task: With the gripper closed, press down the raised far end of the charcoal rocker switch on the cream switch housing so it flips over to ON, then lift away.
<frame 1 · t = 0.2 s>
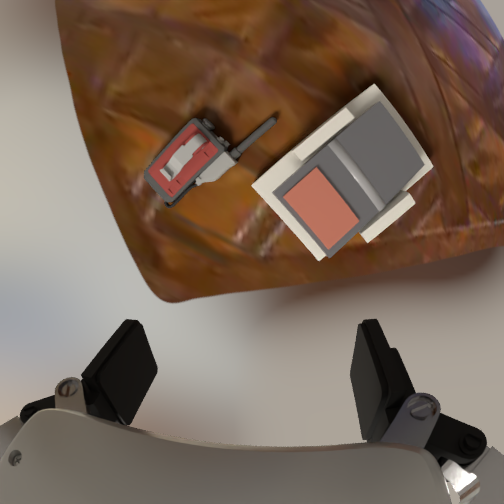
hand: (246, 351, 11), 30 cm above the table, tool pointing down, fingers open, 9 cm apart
walkie-talkie: (207, 149, 37), on the table
rocker: (356, 175, 30), point 6 cm above the table, hinge at -12.0°
switch housing: (345, 170, 36), on the table
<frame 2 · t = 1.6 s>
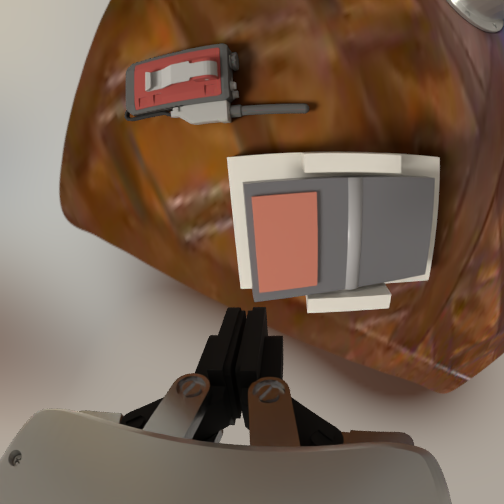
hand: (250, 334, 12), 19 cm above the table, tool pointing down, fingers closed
walkie-talkie: (211, 87, 26), on the table
rocker: (351, 233, 23), point 6 cm above the table, hinge at -12.0°
switch housing: (339, 216, 29), on the table
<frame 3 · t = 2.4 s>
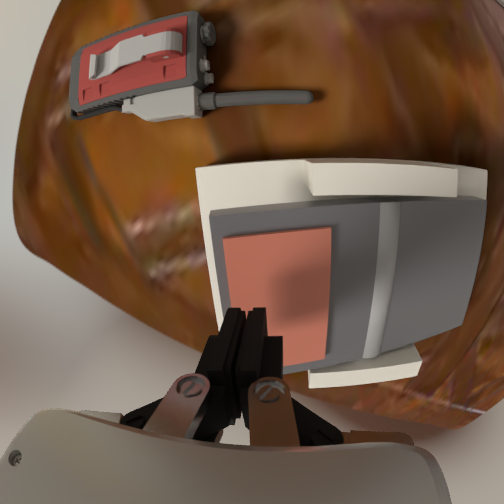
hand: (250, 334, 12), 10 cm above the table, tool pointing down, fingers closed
walkie-talkie: (179, 71, 18), on the table
rocker: (377, 284, 15), point 6 cm above the table, hinge at -12.0°
switch housing: (355, 248, 21), on the table
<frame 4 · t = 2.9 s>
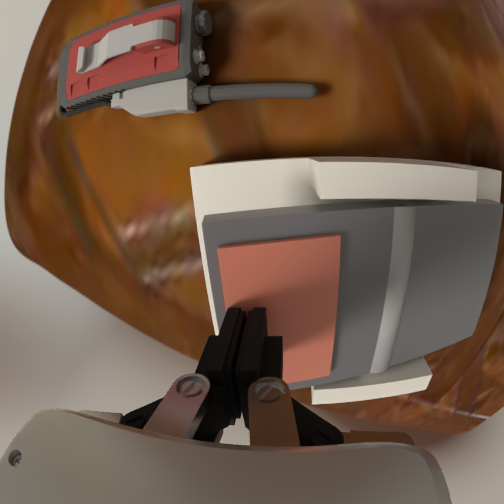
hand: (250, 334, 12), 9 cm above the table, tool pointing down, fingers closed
walkie-talkie: (172, 63, 16), on the table
rocker: (388, 295, 14), point 6 cm above the table, hinge at -11.6°, touching gripper
switch housing: (362, 254, 19), on the table
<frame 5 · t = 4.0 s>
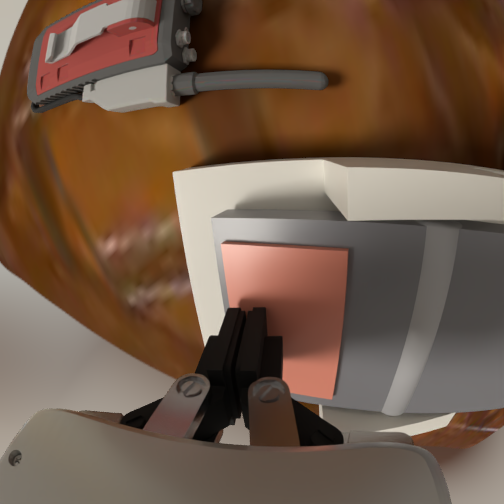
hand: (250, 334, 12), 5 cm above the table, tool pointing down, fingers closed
walkie-talkie: (155, 48, 13), on the table
rocker: (417, 333, 10), point 6 cm above the table, hinge at 16.0°, touching gripper
switch housing: (382, 274, 16), on the table
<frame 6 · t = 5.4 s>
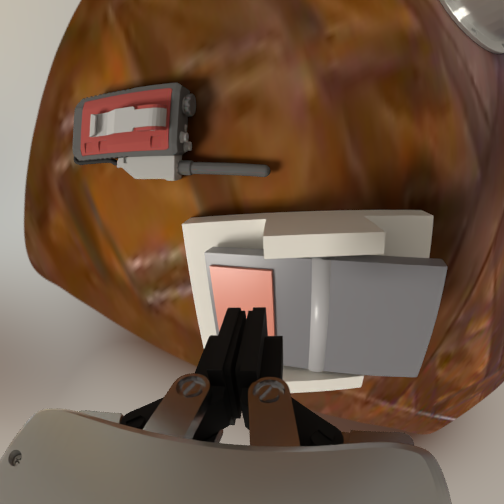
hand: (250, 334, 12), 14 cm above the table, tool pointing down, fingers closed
walkie-talkie: (164, 132, 23), on the table
rocker: (320, 317, 20), point 6 cm above the table, hinge at 16.1°
switch housing: (312, 283, 26), on the table
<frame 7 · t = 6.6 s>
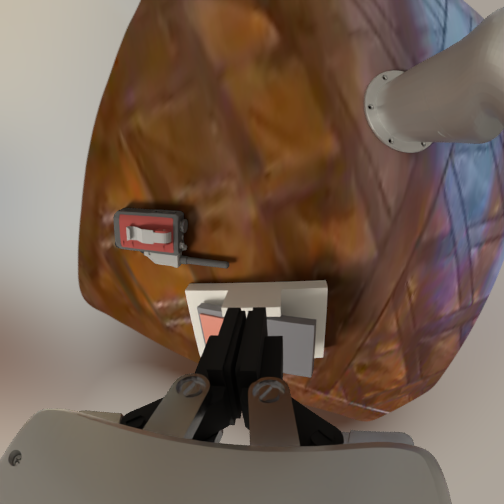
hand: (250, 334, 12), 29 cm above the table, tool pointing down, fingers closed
walkie-talkie: (170, 235, 43), on the table
rocker: (255, 341, 41), point 6 cm above the table, hinge at 16.1°
switch housing: (258, 319, 46), on the table
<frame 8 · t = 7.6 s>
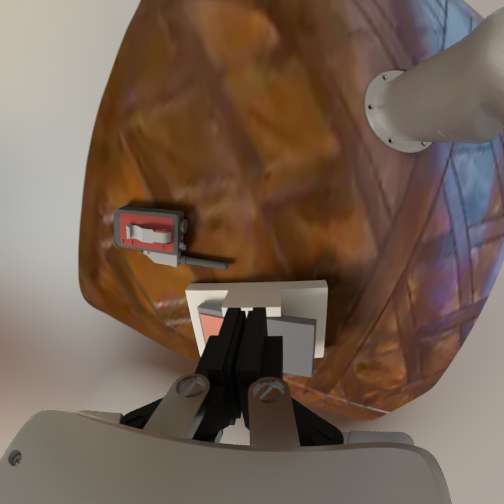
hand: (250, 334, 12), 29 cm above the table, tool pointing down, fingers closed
walkie-talkie: (170, 234, 43), on the table
rocker: (255, 341, 41), point 6 cm above the table, hinge at 16.1°
switch housing: (259, 319, 46), on the table
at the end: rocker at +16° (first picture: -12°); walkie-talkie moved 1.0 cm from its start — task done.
